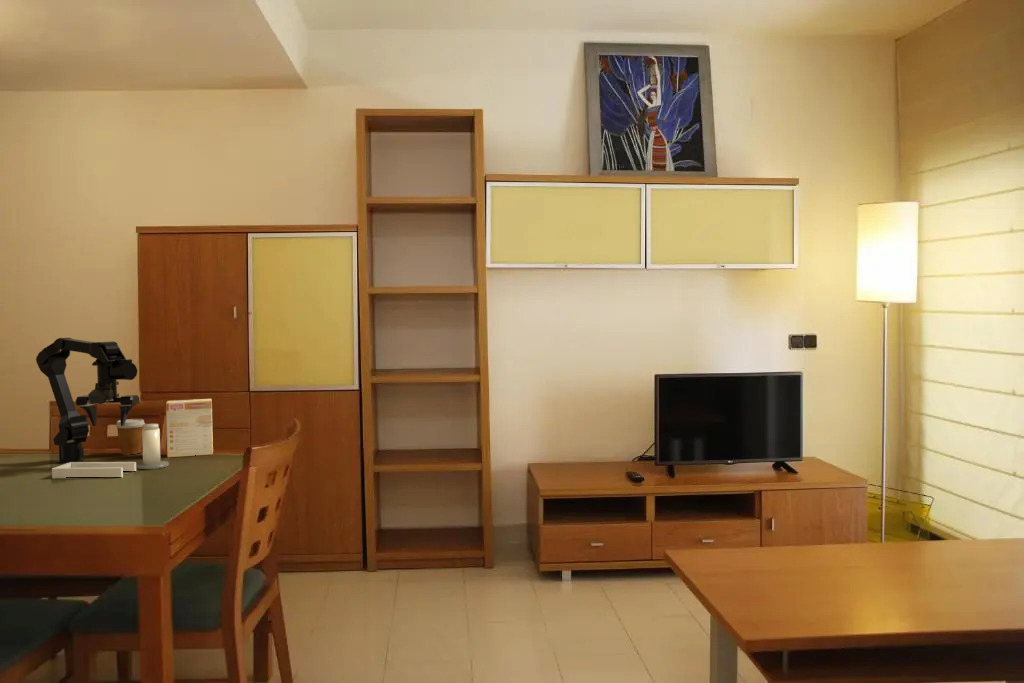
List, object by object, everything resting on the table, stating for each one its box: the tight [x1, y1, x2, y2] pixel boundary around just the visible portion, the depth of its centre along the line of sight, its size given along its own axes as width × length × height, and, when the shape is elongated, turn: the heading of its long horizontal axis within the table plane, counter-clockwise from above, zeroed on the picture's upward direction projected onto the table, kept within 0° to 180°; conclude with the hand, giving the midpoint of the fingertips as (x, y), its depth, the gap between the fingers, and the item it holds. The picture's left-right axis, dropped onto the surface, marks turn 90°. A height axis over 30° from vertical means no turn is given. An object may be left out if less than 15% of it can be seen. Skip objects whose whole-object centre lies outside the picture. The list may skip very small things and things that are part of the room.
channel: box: [51, 461, 137, 479], centre depth 250 cm, size 21×10×3 cm, turn 91°
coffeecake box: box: [165, 398, 214, 458], centre depth 284 cm, size 15×7×20 cm, turn 110°
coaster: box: [136, 460, 169, 470], centre depth 262 cm, size 10×10×1 cm
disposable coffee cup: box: [115, 418, 146, 456], centre depth 286 cm, size 10×10×12 cm
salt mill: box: [142, 423, 161, 465], centre depth 262 cm, size 5×5×13 cm
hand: (108, 426), depth 266 cm, fingers open, 9 cm apart
